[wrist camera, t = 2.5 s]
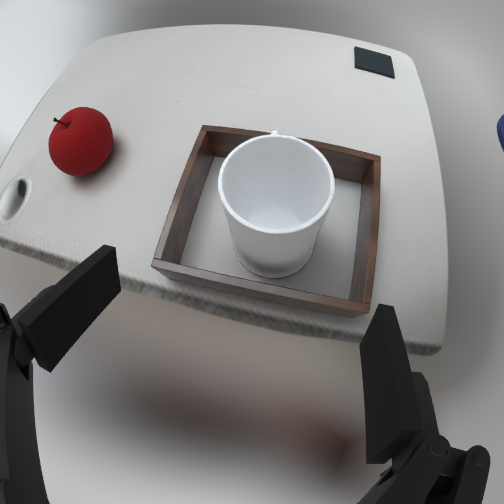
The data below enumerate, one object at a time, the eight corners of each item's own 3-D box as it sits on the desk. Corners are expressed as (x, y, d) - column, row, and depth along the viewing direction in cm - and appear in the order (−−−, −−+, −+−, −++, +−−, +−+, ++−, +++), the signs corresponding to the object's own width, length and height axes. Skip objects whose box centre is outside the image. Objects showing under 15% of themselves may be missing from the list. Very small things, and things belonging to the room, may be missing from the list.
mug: (243, 174, 34) (232, 100, 22) (317, 181, 33) (335, 109, 21) (227, 273, 30) (203, 230, 19) (311, 282, 29) (337, 244, 18)
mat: (390, 58, 40) (391, 56, 40) (394, 78, 38) (394, 76, 38) (354, 48, 41) (354, 46, 41) (354, 67, 39) (355, 65, 39)
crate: (353, 318, 28) (369, 313, 23) (167, 278, 30) (150, 266, 26) (368, 179, 33) (380, 156, 28) (209, 150, 35) (202, 124, 30)
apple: (101, 191, 34) (61, 148, 25) (60, 180, 36) (21, 144, 26) (132, 135, 37) (104, 87, 27) (89, 131, 38) (60, 89, 28)
